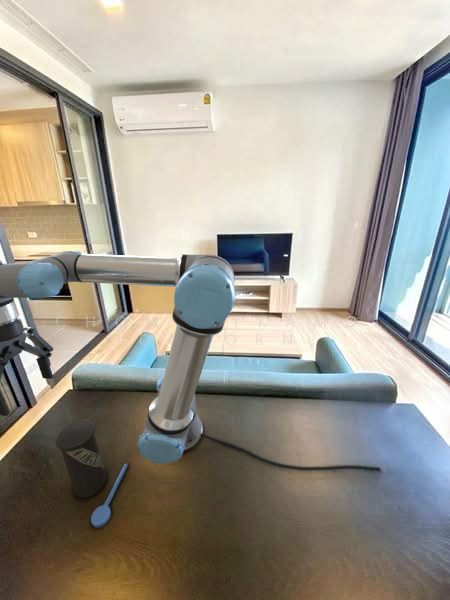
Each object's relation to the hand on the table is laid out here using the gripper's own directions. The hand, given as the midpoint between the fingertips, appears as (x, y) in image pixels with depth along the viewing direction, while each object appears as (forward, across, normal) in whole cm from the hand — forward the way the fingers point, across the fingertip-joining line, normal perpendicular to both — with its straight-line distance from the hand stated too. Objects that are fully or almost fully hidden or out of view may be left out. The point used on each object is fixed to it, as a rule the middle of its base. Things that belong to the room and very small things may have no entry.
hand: (27, 394), depth 66 cm
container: (+28, +3, +13) cm, 31 cm away
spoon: (+28, +5, +21) cm, 36 cm away
